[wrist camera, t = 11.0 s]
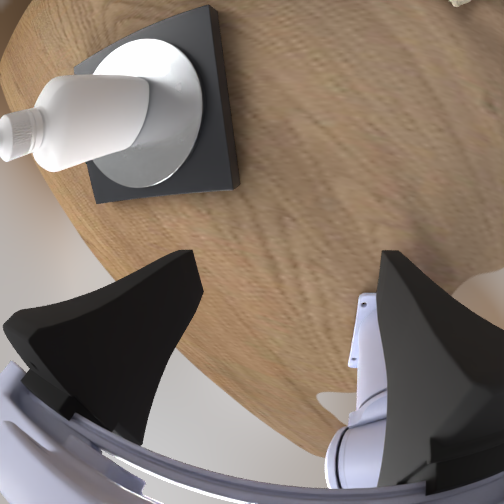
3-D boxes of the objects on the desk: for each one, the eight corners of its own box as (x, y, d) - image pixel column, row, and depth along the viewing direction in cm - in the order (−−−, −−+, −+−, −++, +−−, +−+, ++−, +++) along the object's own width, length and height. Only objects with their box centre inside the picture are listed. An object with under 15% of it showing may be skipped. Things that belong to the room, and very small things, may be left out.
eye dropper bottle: (98, 117, 17) (-33, 155, 7) (139, 67, 15) (-14, 71, 5) (124, 155, 19) (-11, 214, 8) (169, 106, 16) (6, 133, 6)
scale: (240, 184, 20) (233, 190, 18) (104, 199, 24) (93, 204, 23) (217, 10, 13) (208, 3, 12) (82, 68, 18) (70, 69, 16)
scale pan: (217, 177, 18) (214, 179, 18) (99, 193, 22) (95, 195, 21) (196, 18, 13) (192, 16, 12) (80, 72, 16) (75, 72, 16)
